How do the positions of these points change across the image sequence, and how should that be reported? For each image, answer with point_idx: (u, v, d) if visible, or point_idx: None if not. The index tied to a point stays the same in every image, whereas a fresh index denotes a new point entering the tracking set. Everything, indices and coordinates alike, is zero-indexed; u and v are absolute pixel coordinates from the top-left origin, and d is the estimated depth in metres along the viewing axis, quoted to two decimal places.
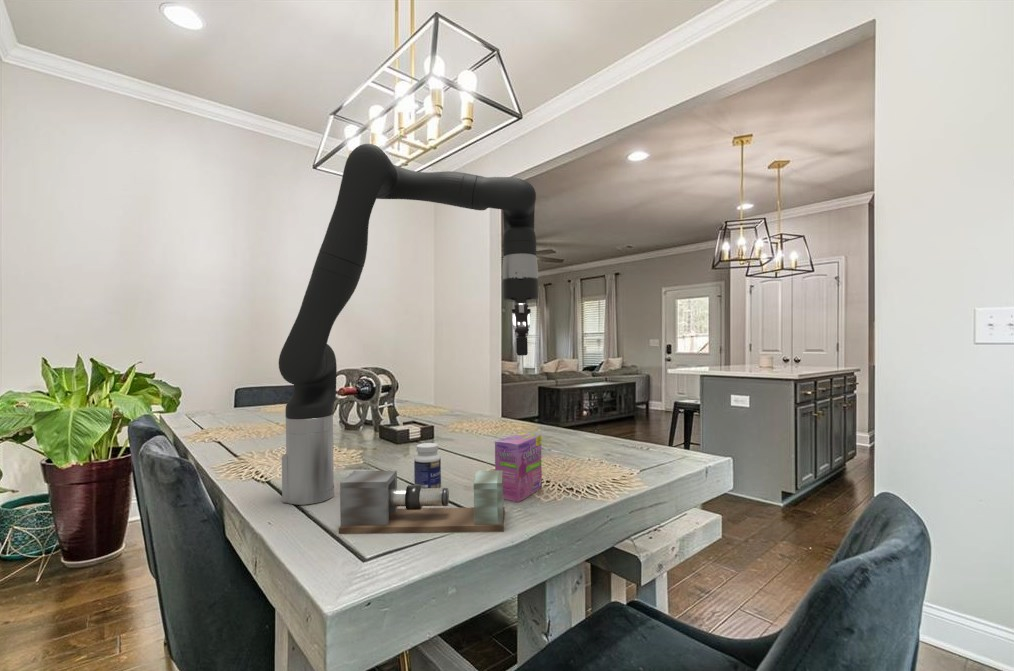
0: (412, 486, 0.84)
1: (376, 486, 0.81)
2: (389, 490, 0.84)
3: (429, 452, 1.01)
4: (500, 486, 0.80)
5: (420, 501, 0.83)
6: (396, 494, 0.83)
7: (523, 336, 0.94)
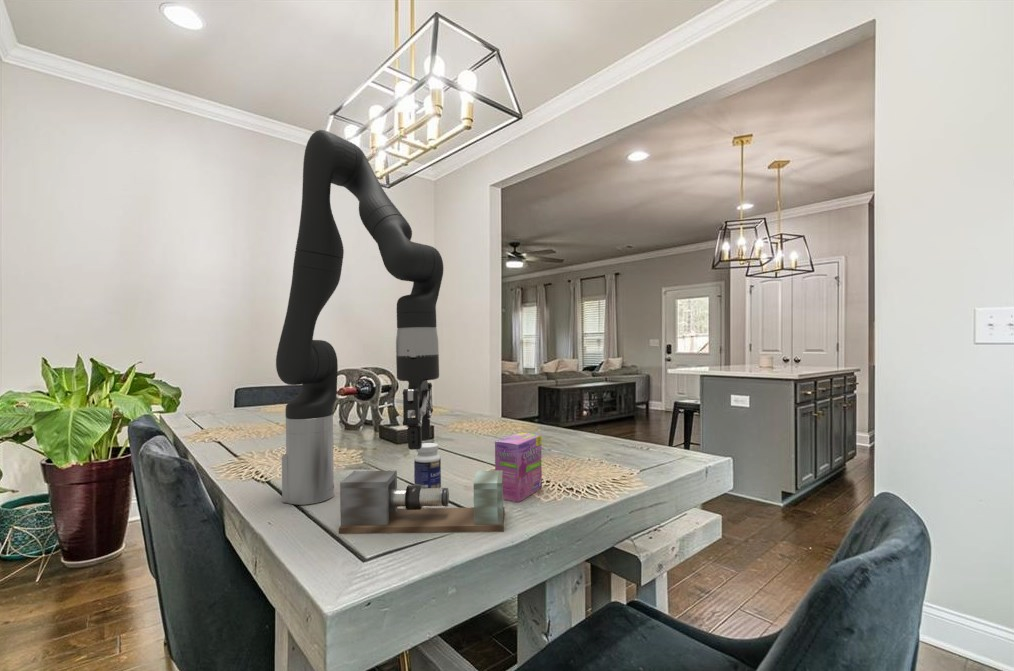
0: (412, 486, 0.84)
1: (376, 486, 0.81)
2: (389, 490, 0.84)
3: (429, 452, 1.01)
4: (500, 486, 0.80)
5: (420, 501, 0.83)
6: (396, 494, 0.83)
7: (414, 427, 0.79)
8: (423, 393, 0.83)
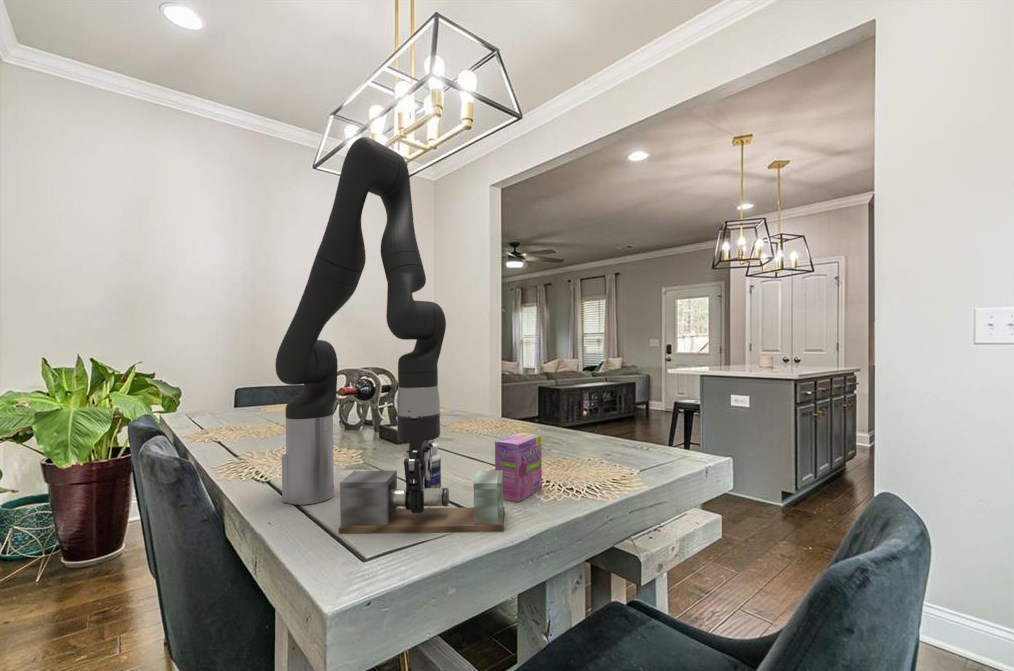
0: None
1: (376, 486, 0.81)
2: (389, 490, 0.84)
3: None
4: (500, 486, 0.80)
5: None
6: (396, 494, 0.83)
7: (417, 493, 0.81)
8: (424, 454, 0.82)
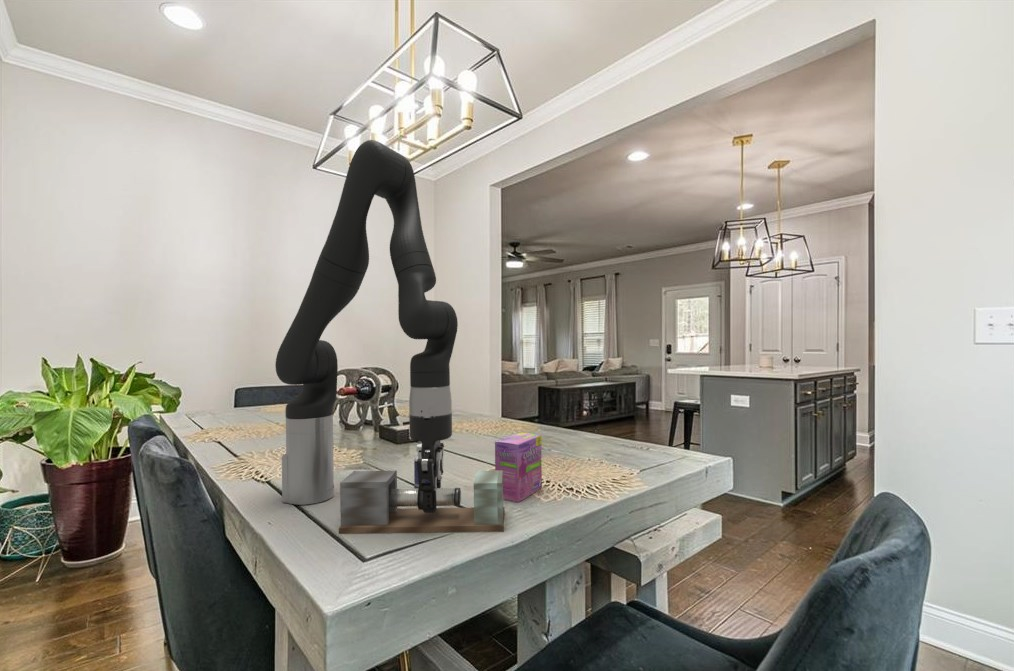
0: None
1: (376, 486, 0.81)
2: (401, 490, 0.84)
3: None
4: (500, 486, 0.80)
5: None
6: (408, 494, 0.83)
7: (430, 493, 0.81)
8: (436, 454, 0.82)
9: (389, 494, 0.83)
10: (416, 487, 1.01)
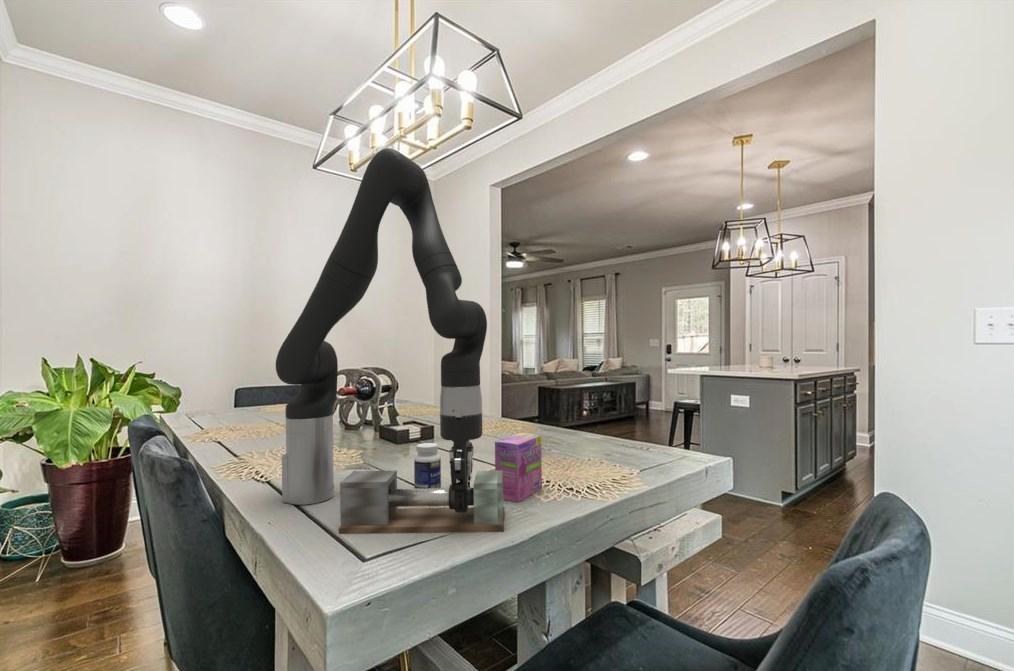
0: None
1: (376, 486, 0.81)
2: (432, 489, 0.84)
3: (429, 452, 1.01)
4: (500, 486, 0.80)
5: None
6: (439, 494, 0.83)
7: (462, 492, 0.81)
8: (467, 454, 0.82)
9: (420, 494, 0.83)
10: (416, 487, 1.01)
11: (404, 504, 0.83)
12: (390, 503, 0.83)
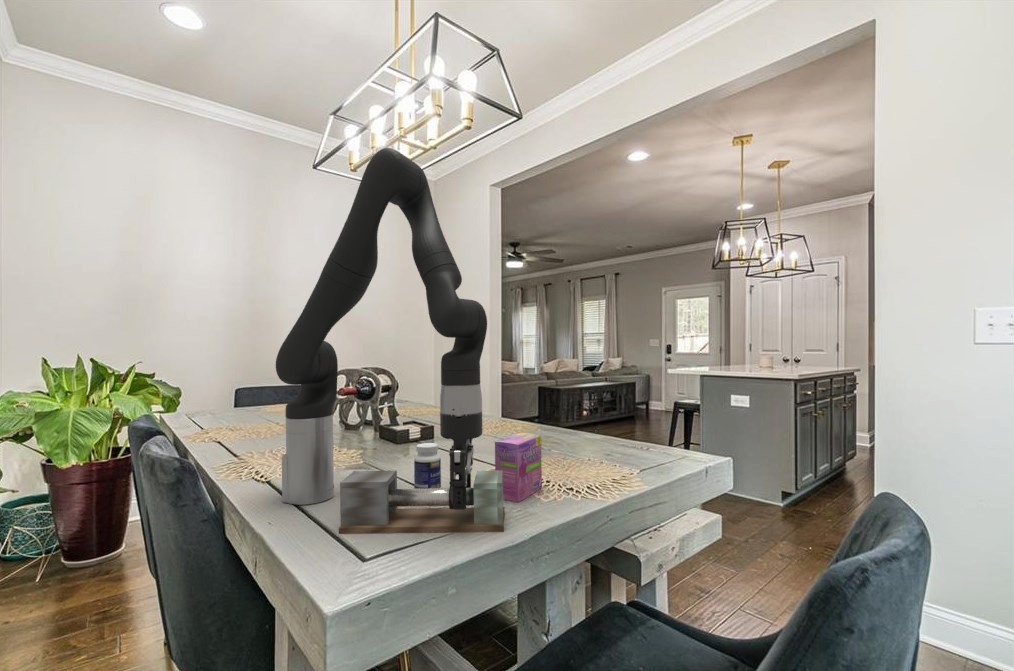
0: None
1: (376, 486, 0.81)
2: (432, 489, 0.84)
3: (429, 452, 1.01)
4: (500, 486, 0.80)
5: None
6: (439, 494, 0.83)
7: (460, 488, 0.79)
8: (467, 451, 0.82)
9: (420, 494, 0.83)
10: (416, 487, 1.01)
11: (404, 504, 0.83)
12: (390, 503, 0.83)
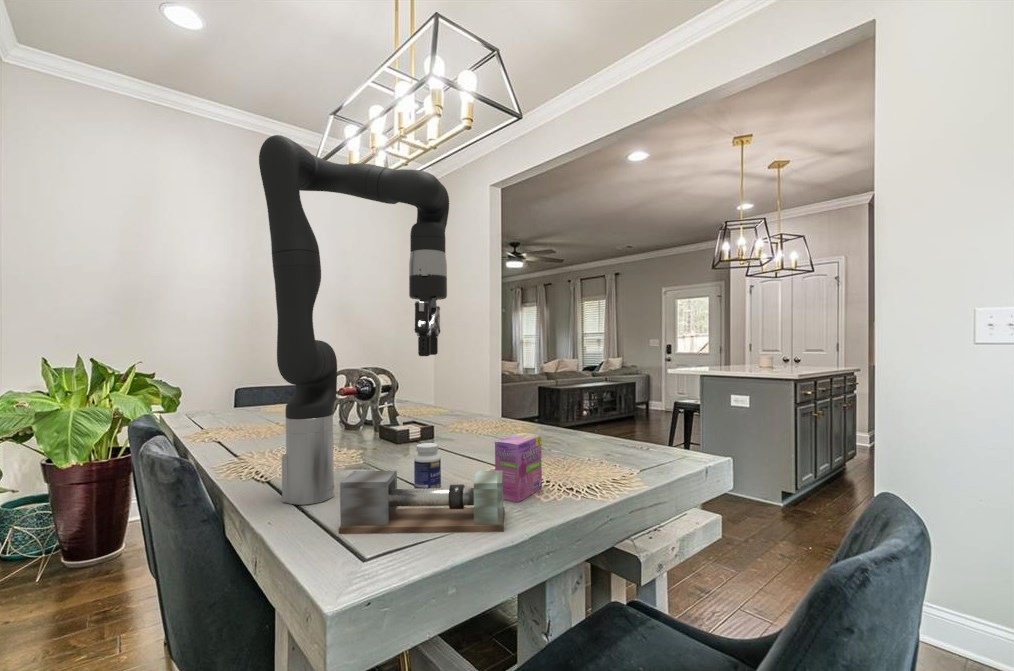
0: (455, 485, 0.84)
1: (376, 486, 0.81)
2: (432, 489, 0.84)
3: (429, 452, 1.01)
4: (500, 486, 0.80)
5: (463, 500, 0.83)
6: (439, 494, 0.83)
7: (424, 336, 0.90)
8: (432, 309, 0.93)
9: (420, 494, 0.83)
10: (416, 487, 1.01)
11: (404, 504, 0.83)
12: (390, 503, 0.83)
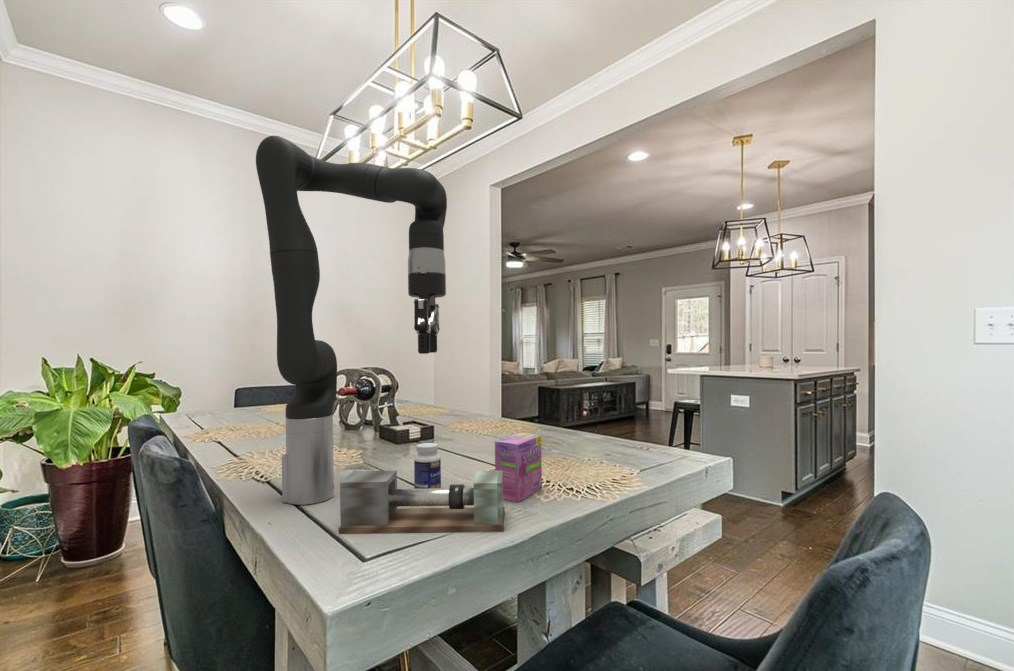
0: (455, 485, 0.84)
1: (376, 486, 0.81)
2: (432, 489, 0.84)
3: (429, 452, 1.01)
4: (500, 486, 0.80)
5: (463, 500, 0.83)
6: (439, 494, 0.83)
7: (424, 333, 0.90)
8: (431, 306, 0.93)
9: (420, 494, 0.83)
10: (416, 487, 1.01)
11: (404, 504, 0.83)
12: (390, 503, 0.83)
